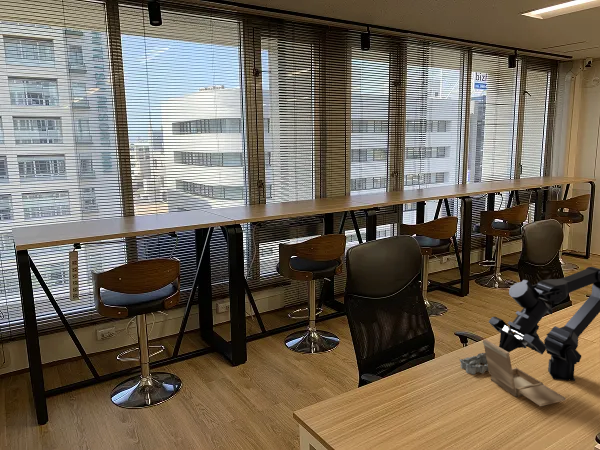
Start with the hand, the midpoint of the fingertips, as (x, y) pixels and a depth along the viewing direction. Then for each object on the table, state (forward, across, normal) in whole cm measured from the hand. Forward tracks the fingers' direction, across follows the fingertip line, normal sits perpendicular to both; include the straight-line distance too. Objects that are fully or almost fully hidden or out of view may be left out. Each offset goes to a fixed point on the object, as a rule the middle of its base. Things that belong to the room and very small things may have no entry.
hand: (499, 356), depth 145 cm
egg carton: (+6, +13, -10) cm, 18 cm away
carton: (+3, -4, -13) cm, 14 cm away
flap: (+4, 0, -7) cm, 8 cm away
